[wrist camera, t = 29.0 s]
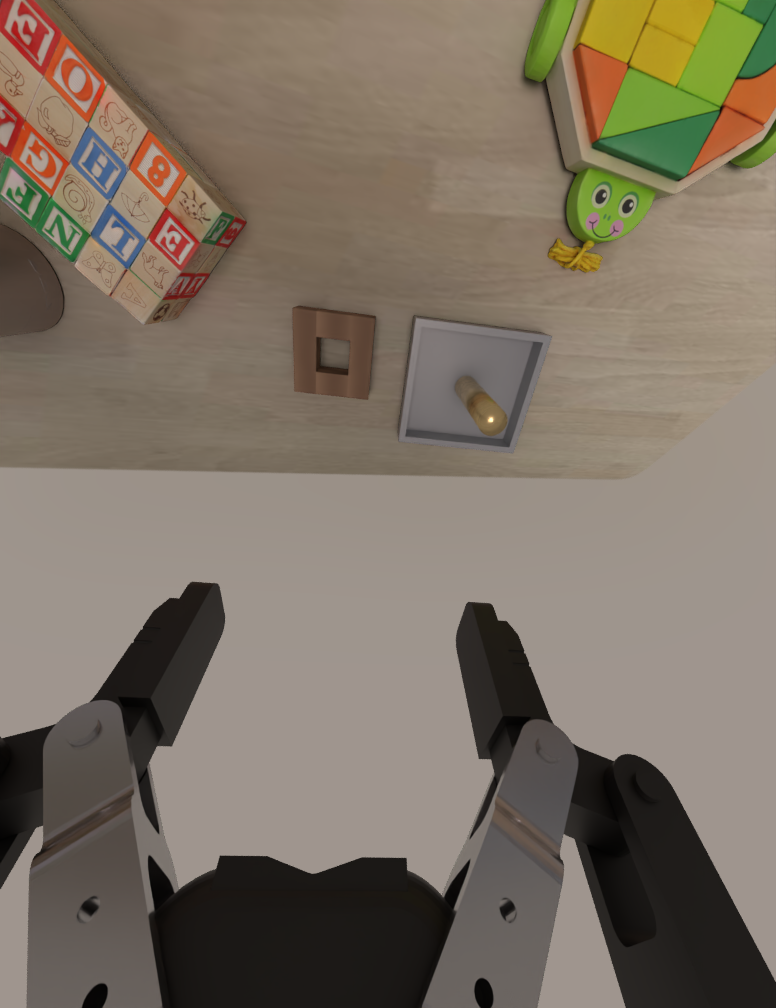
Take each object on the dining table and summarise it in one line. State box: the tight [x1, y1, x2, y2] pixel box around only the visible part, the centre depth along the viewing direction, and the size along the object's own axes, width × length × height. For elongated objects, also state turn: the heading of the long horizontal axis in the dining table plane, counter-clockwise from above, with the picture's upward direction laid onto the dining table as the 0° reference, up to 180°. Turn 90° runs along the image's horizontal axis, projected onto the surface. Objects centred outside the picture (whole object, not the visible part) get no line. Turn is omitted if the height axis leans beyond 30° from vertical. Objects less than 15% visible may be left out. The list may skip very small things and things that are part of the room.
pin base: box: [293, 306, 375, 400], centre depth 38 cm, size 8×8×3 cm
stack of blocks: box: [0, 0, 246, 325], centre depth 28 cm, size 21×6×12 cm
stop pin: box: [455, 376, 508, 436], centre depth 36 cm, size 2×2×12 cm
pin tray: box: [398, 316, 552, 453], centre depth 40 cm, size 14×13×3 cm
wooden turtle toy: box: [525, 0, 776, 273], centre depth 26 cm, size 22×28×6 cm
